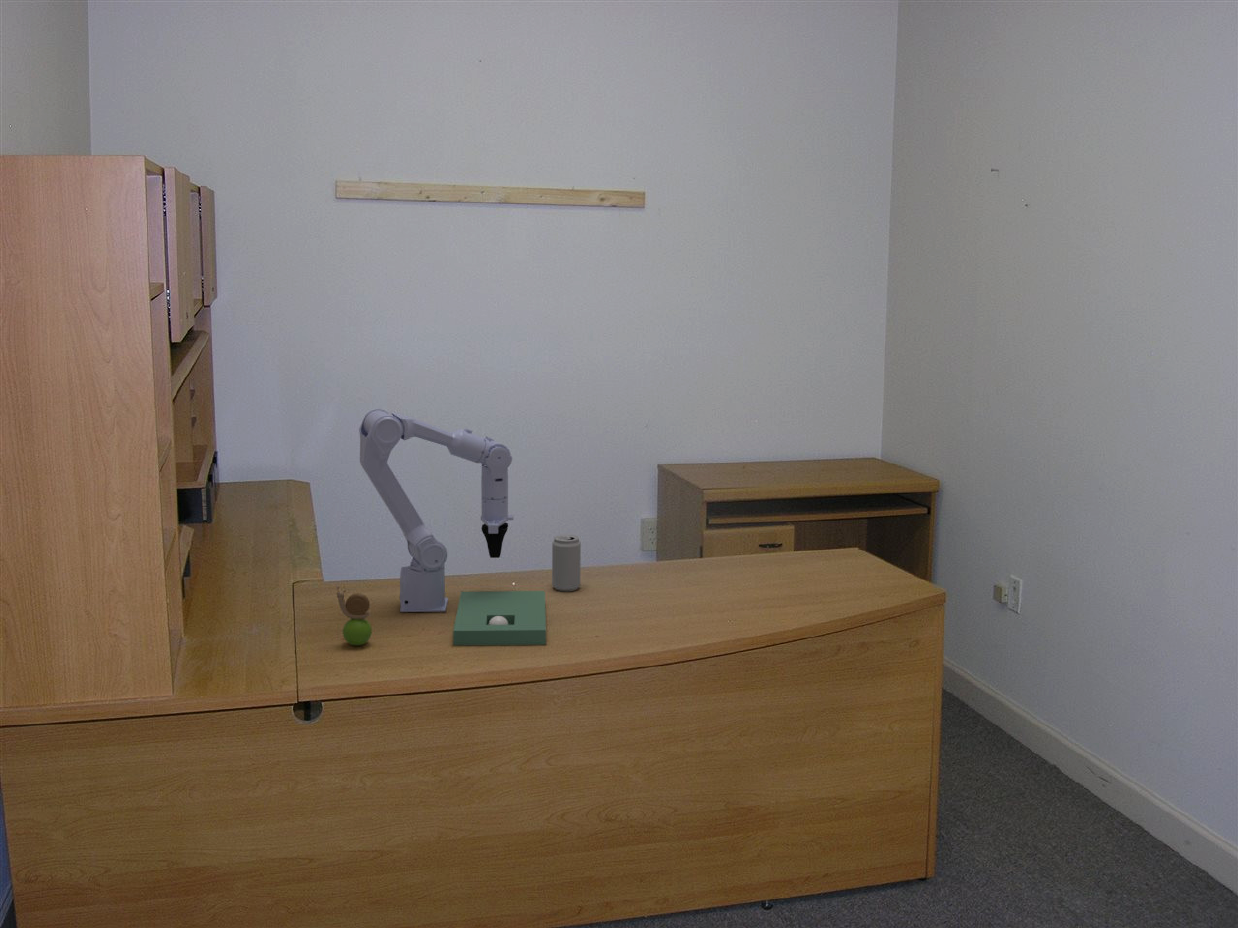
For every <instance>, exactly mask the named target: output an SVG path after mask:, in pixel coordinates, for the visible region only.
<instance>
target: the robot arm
mask: <svg viewBox="0 0 1238 928" xmlns="http://www.w3.org/2000/svg"><path fill="white" fill-rule="evenodd" d="M358 433H359V463H360V465H361V467H362V469H363V470H364V472H365V474H366V475H367V477H368V479H369V480H370V482H371V483H372V484H373V486H374V488H375V490H376V491H377V493H378V495H379V496H380V498H381V499H382V501H383V503H384V504H385V506H386V508H387V509H388V511H389V512H390V514H391V515H392V517H393V519H394V520H395V522H396V523H397V525H398V526H399V528H400V530H401V532H402V533H403V537H404V538H405V540H406V543H407V544H406V545H407V551H408V553H409V555H410V556H411V557H412V559H411V562H410V565H409V566H408V565H407V566H401V569H400V573H399V574H400V575H399V577H400V578H399V588H400V589H399V600H400V608H399V609H400V612H401V613H409V612H410V613H418V612H419V613H421V612H422V613H423V612H424V613H429V612H430V613H432V612H434V613H435V612H438V613H440V612H441V613H442V612H446V610H447V607H448V602H449V598H448V597H446V581H445V579H446V576H445V575H446V574H445V572H446V571H445V567H446V566H445V563H446V562H447V560H448V549H447V548H446V546H445V545H444V544H443V543H442V542H440V541H438V539H437V538H436V537H435V536H434V535H433V534H432V532H431V531H430V530H429V528H428V527H427V525H426V524H425V523H424V521H423V519H422V518H421V516H420V515H419V513H418V512H417V510H416V508H415V507H414V505H413V503H412V502H411V500H410V497H408V495H407V493H406V492H405V490H404V489H403V487H402V485H401V484H400V482H399V480H398V479H397V477H396V475H395V474H394V472H393V471H392V469H391V467H390V466H389V464H388V461H389V458H390V454H391V452H392V450H393V449H394V448H395V446H396V445H397V444H398V443H399V441H400V440H403V441H407V440H409V439H411V438H418V439H421V440H424V441H428V442H430V443H431V442H432V443H435V444H436V445H437V444H438V445H441V446H445V447H447V449H448V452H449V454H450V455H451V456H455V457H457V458H461V459H464V460H466V461H469V462H472V463H474V464H481V478H480V479H481V484H480V485H481V487H480V488H481V494H480V495H481V514H480V521H481V522H482V523H483V524H481V532H482V534H483V535H484V537H485V541H486V546H487V550H488V555H489V558H490V559H492V558H493V559H494V558H495V559H497V558H501V554H502V548H503V547H502V546H503V542H504V538H505V536H506V534H507V532H508V527H509V523H508V521H514V515H512V514H509V474H508V470H509V467H510V466H511V464H512V461H513V456H512V455H511V451H510V449H509V448H508V447H507V446H505V445H504V444H502V443H501V442H499V441H496V440H495V439H493V438H492V437H490V436H485V437H484V436H481V435H478V434H475V433H473V430H472V429H469V428H466V427H465V428H464V429H463V428H462V429H461V428H458V429H456V430H454V431H449V430H445V429H444V428H440V427H438V426H436V425H432V424H431V423H428V422H426V421H422V420H420V419H417V418H415V417H412V416H409V415H405V414H401V413H397V412H393V411H390V413H389V412H388V411H386V410H384V409H381V408H375V409H371V410H370V411H368V412H367V413H366V414H365V415H364V416H363V419H362V421H361V424H360V426H359V428H358Z"/></svg>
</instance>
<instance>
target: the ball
mask: <svg viewBox="0 0 1238 928" xmlns="http://www.w3.org/2000/svg"><path fill="white" fill-rule="evenodd" d="M489 625H508V621H507V620H506V619H505V618H504V617H502V616H495V617H493V618H492V619H491V620H490V622H489Z"/></svg>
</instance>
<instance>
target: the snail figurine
mask: <svg viewBox="0 0 1238 928" xmlns="http://www.w3.org/2000/svg"><path fill="white" fill-rule="evenodd" d="M335 588H336V590H337V592H336V598H337V599H338V603H339V604H338V605H339V608H340V610H341V613H343V615H344V616H346V617H347V618H350V619H349V620H347V621H346V623H345V624H344V626H343V630H342V635H343V638H344V641H346V643H348V644H350V645H352V646H356V647H357V646H362V645H364V644H366V643H367V642H369V640H370V638H371V637H372V633H373V631H372V629H373V628H372V626H371V624H370V622H369V621H368V620H367V619H366V618H368V617H369V615H370V614H371V612H368V611H369V609H370V606H371V603H370V600H369V598H368V597H367V596H366V595H365V594H362V593H357V592H356V593H353V594H351V595H350V596H348V598H347V599H346V601H345V598H344V597H345V593H344V592H343V591H341V590H339V589H340V588H341V586H340V585H336V586H335Z"/></svg>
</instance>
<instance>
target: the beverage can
mask: <svg viewBox="0 0 1238 928" xmlns="http://www.w3.org/2000/svg"><path fill="white" fill-rule="evenodd" d="M551 544H552V546H551V549H552V551H551V552H552V555H551V556H552V558H551V559H552V561H551V562H552V564H551V565H552V567H551V568H552V570H551V573H552V574H551V575H552V576H551V577H552V578H551V585H552V587H553V588H554V589H555V590H556V591H559V592H574V591H576V590H577V589H578V588H579V587H580V586H581V559H582V558H581V550H582V549H581V541H580V537H579V536H578V535H575V534H559V535H556V536H554V537H553V541H552V543H551Z"/></svg>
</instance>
